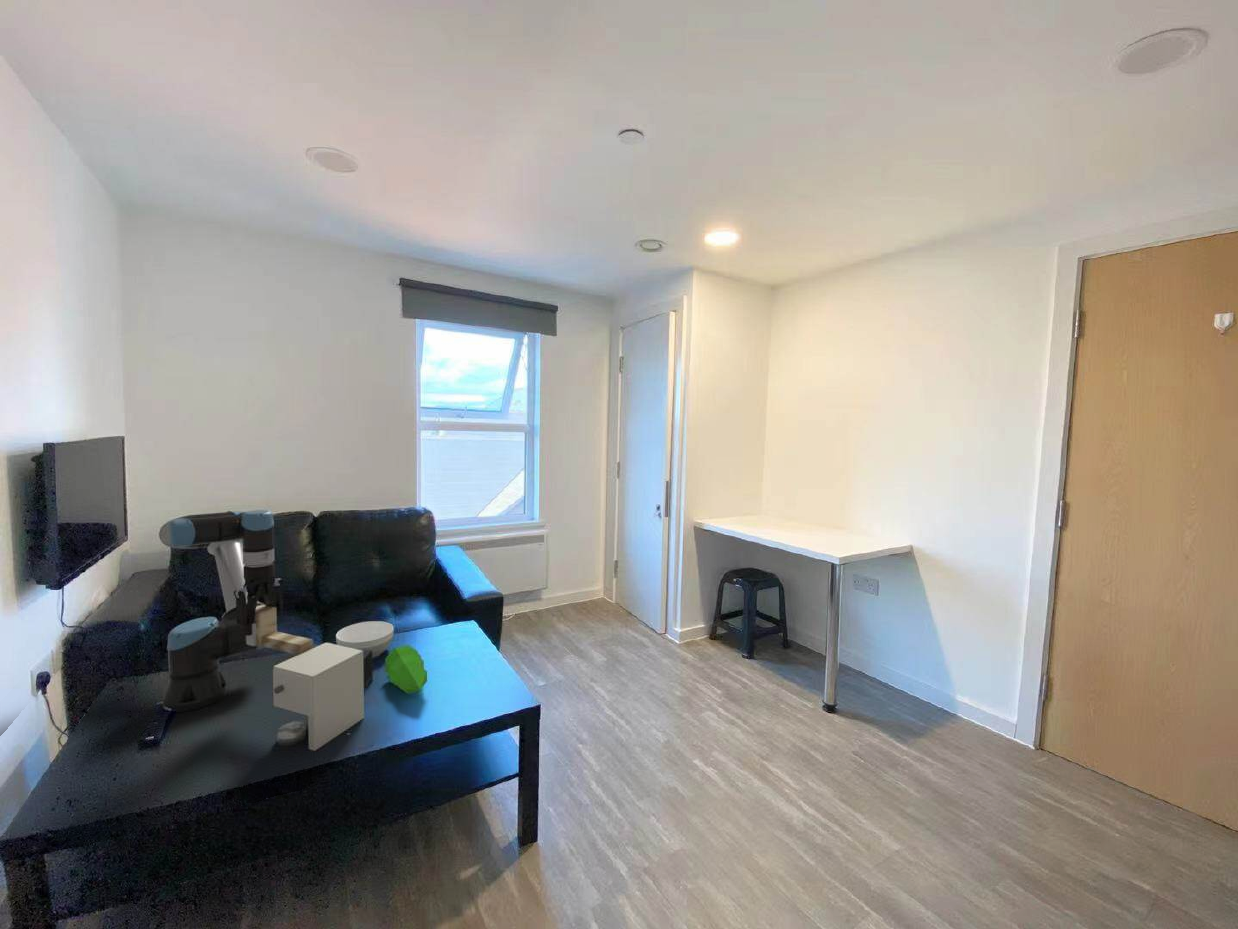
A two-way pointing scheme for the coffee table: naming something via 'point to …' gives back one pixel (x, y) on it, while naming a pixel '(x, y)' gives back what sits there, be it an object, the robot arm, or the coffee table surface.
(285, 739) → the grey rounded puck
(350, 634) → the bowl
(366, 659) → the small box
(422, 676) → the decorative tree
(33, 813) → the coffee table surface
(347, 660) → the cabinet
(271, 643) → the tan l-shaped block
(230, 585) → the robot arm
